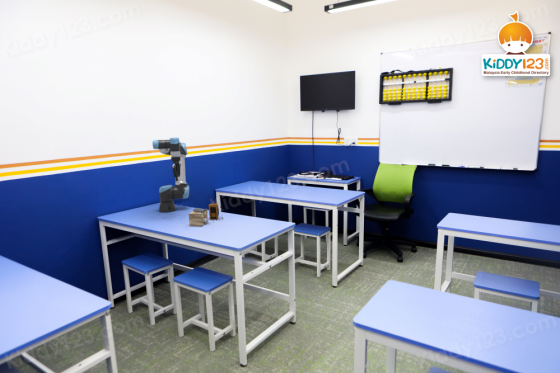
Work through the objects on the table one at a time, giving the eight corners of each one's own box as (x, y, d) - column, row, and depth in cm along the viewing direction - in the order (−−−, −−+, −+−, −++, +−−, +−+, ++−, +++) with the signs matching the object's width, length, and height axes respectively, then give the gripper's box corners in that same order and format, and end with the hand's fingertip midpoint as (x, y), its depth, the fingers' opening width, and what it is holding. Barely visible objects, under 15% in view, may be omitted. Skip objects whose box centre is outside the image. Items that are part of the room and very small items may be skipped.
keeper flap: (195, 208, 284) (195, 207, 284) (205, 210, 284) (205, 209, 283) (192, 210, 279) (192, 209, 278) (202, 212, 278) (202, 211, 278)
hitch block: (196, 221, 291) (195, 207, 289) (208, 221, 289) (207, 207, 287) (189, 226, 277) (188, 211, 275) (202, 226, 276) (201, 212, 273)
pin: (189, 224, 281) (188, 217, 280) (192, 222, 287) (191, 215, 286) (206, 224, 279) (206, 217, 278) (209, 222, 285) (208, 215, 284)
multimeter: (225, 216, 303) (224, 193, 299) (222, 219, 293) (221, 196, 289) (208, 216, 304) (207, 193, 301) (205, 219, 294) (203, 196, 291)
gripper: (174, 155, 297) (176, 183, 302) (167, 157, 285) (170, 185, 289) (183, 155, 296) (185, 183, 300) (176, 157, 283) (178, 186, 288)
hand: (177, 184), depth 295 cm, fingers closed
